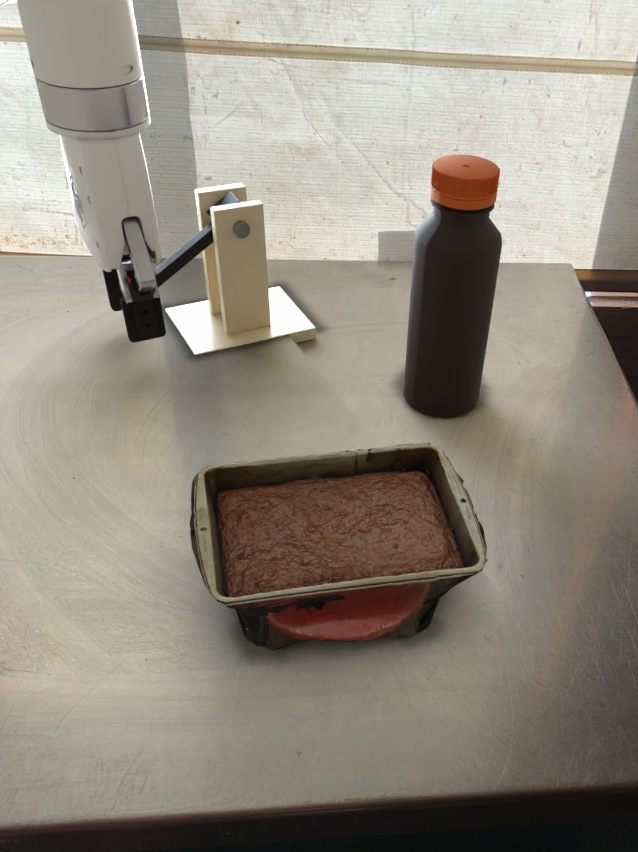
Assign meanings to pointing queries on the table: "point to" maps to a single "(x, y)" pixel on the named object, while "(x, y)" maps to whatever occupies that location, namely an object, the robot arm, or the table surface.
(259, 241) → the bracket
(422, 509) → the baking dish
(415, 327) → the bottle
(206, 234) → the lever
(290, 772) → the table surface
